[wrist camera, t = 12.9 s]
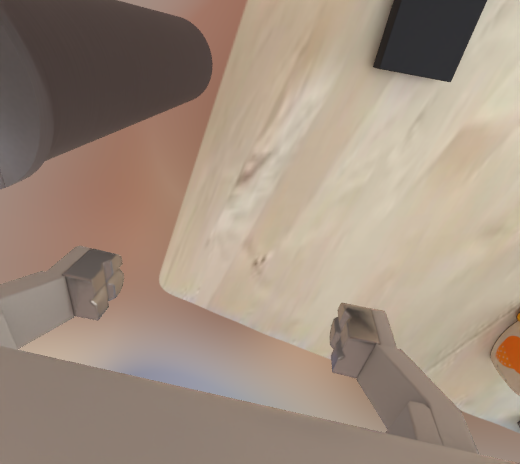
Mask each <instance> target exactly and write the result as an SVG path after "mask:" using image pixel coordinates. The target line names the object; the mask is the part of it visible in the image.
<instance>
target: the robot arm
mask: <svg viewBox="0 0 520 464" xmlns="http://www.w3.org/2000/svg"><path fill="white" fill-rule="evenodd" d="M121 265H122V258H121V256H119V255H117V254H114V253H110V252H105V251H101V250H97V249H91V248H87V247H83V246H78V247H75V248H74V249H73V250H71V251H70V252H69V253H68V254H67V255H66V256H64V257H63V258H62V259H61V260H59V261H58V262H57V263H56V264H55V265H54V266H52V267H51V268H50V269H49V270H48V271H46V272H43V271H40V272H37V273H34V274H31V275H28V276H25V277H22V278H19V279H16V280H13V281H10V282H7V283H3V284H0V464H520V463H516V462H511V461H507V460H503V459H498V458H494V457H490V456H485V455H481V454H479V452H478V450H477V448H476V445H475V443H474V441H473V438H472V436H471V434H470V431H469V429H468V427H467V424H466V422H465V420H464V417H463V415H462V412H461V411H460V410H459V409H458V408H457V407H456V406H455V405H454V403H453V402H452V401H451V400H450V399H449V398H448V397H447V396H446V395H445V394H444V393H443V392H442V391H441V390H440V389H439V388H438V387H437V386H436V385H435V384H434V383H433V382H432V381H431V380H430V379H429V378H428V377H427V376H426V374H425V373H424V372H423V371H422V370H421V369H420V368H419V367H418V366H417V365H416V364H415V363H414V362H413V361H412V360H411V359H410V358H409V357H408V356H407V355H406V354H405V353H404V352H403V351H402V350H401V349H397V347H396V343H395V340H394V337H393V334H392V331H391V327H390V324H389V321H388V318H387V315H386V312H385V311H383V310H378V309H372V308H366V307H361V306H357V305H352V304H347V303H341V304H340V306H339V308H338V317H336V318H335V319H334V320H333V323H332V325H331V330H330V345H331V347H332V348H333V349H334V350H333V352H332V354H331V361H332V372H333V373H337V374H341V375H345V376H349V377H353V378H357V381H358V383H359V384H360V386H361V388H362V389H363V391H364V392H365V394H366V396H367V397H368V399H369V400H370V402H371V403H372V405H373V407H374V408H375V410H376V412H377V413H378V415H379V416H380V418H381V420H382V421H383V423H384V424H385V426H386V428H387V429H388V430H387V431H386V433H383V432H379V431H375V430H370V429H366V428H361V427H357V426H353V425H348V424H344V423H339V422H335V421H331V420H326V419H322V418H317V417H312V416H309V415H304V414H300V413H295V412H291V411H286V410H282V409H277V408H273V407H269V406H264V405H259V404H255V403H251V402H246V401H242V400H237V399H233V398H229V397H224V396H220V395H215V394H211V393H206V392H202V391H198V390H193V389H189V388H185V387H180V386H175V385H171V384H167V383H162V382H158V381H154V380H149V379H145V378H140V377H136V376H132V375H127V374H123V373H118V372H114V371H110V370H105V369H101V368H96V367H91V366H87V365H83V364H79V363H74V362H70V361H65V360H60V359H56V358H52V357H47V356H43V355H39V354H34V353H30V352H25V351H21V350H18V349H19V348H21V347H23V346H24V345H26V344H28V343H30V342H31V341H33V340H35V339H36V338H38V337H40V336H42V335H44V334H45V333H47V332H49V331H51V330H52V329H54V328H56V327H58V326H59V325H61V324H63V323H65V322H67V321H68V320H70V319H72V318H74V316H77V317H82V318H88V319H93V320H99V319H100V317H101V316H102V314H104V312H105V311H106V310H107V308H108V307H109V304H108V301H110V300H112V299H114V298H116V297H117V295H118V294H119V293H120V291H121V288H122V286H123V281H124V274H123V272H122V271H121V270H120V268H119V267H120V266H121Z"/></svg>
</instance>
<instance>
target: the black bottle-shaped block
mask: <svg viewBox="0 0 520 464" xmlns="http://www.w3.org/2000/svg"><path fill="white" fill-rule="evenodd" d="M486 2H487V0H394V2H393V5H392V8H391V12H390V15H389V18H388V21H387V24H386V27H385V31H384V34H383V37H382V40H381V43H380V47H379V50H378V53H377V56H376V59H375V62H374V66H373V67H375V68H379V69H384V70H389V71H394V72H399V73H405V74H410V75H415V76H420V77H426V78H431V79H436V80H441V81H447V82H451V80H452V78H453V76H454V74H455V71H456V69H457V67H458V65H459V62H460V60H461V58H462V56H463V53H464V51H465V49H466V47H467V44H468V42H469V40H470V38H471V35H472V33H473V31H474V29H475V26H476V24H477V22H478V20H479V17H480V15H481V13H482V11H483V8H484V6H485V4H486Z"/></svg>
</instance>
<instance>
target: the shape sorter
mask: <svg viewBox="0 0 520 464" xmlns="http://www.w3.org/2000/svg"><path fill="white" fill-rule="evenodd" d="M517 319H518V321H517V322H516V323H514V324H513V325H512V326H510V327H509V328H508V329H507V330H506V331H505V332H504V333H503V334H502V335H501V336H500V337H499V339H498V340H497V342H496V343H495V345H494V347H493V349H492V352H491V360H492V362H493V364H494V366H495V368H496V370H497V371H498V373H499V374H500V376H501V377H502V378H503V380H504V381H505V382H506V383H507V385H508V386H509V387H510V388H511V389H512V390H513V391H514V392H515V393H516V394H518V395H519V396H520V313H519V314H518V316H517Z"/></svg>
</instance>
